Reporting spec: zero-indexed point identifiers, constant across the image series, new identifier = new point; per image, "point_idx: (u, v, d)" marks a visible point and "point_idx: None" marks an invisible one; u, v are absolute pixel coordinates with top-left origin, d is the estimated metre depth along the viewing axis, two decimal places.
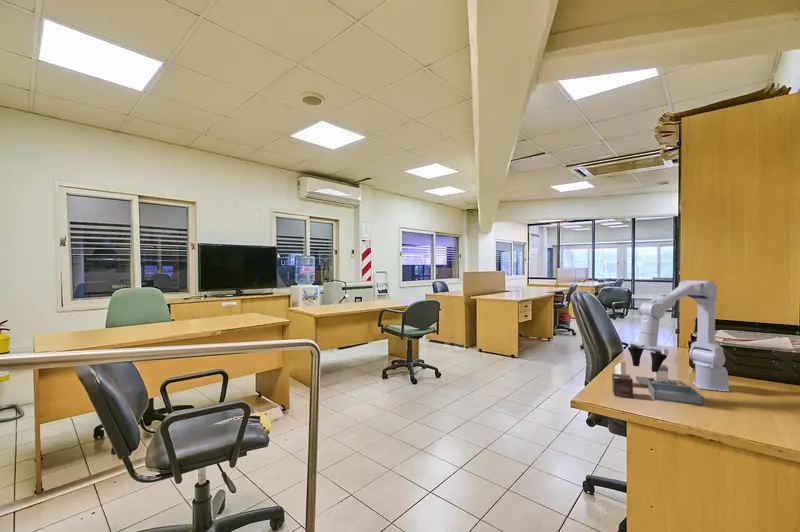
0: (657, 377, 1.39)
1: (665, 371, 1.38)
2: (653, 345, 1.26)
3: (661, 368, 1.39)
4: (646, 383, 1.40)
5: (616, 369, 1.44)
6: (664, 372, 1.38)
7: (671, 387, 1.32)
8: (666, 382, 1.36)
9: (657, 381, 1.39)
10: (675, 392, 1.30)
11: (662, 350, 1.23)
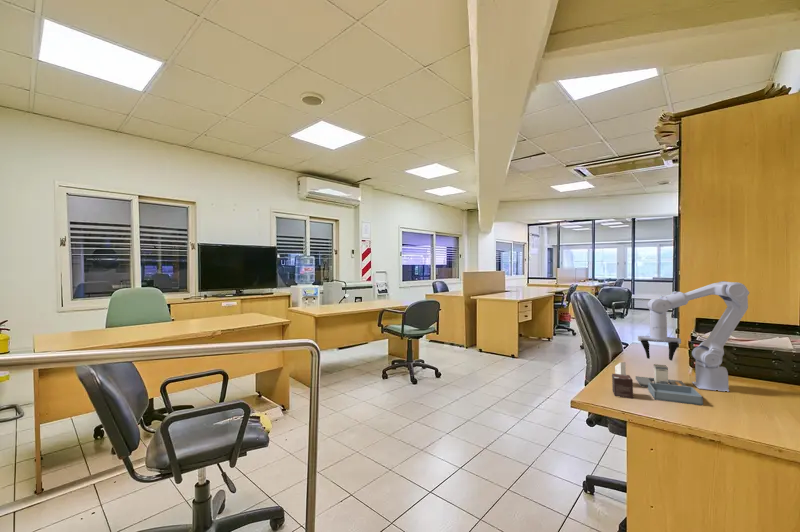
0: (657, 377, 1.39)
1: (665, 371, 1.38)
2: (650, 335, 1.44)
3: (661, 368, 1.39)
4: (646, 383, 1.40)
5: (616, 369, 1.44)
6: (664, 372, 1.38)
7: (671, 387, 1.32)
8: (666, 382, 1.36)
9: (657, 381, 1.39)
10: (675, 392, 1.30)
11: None
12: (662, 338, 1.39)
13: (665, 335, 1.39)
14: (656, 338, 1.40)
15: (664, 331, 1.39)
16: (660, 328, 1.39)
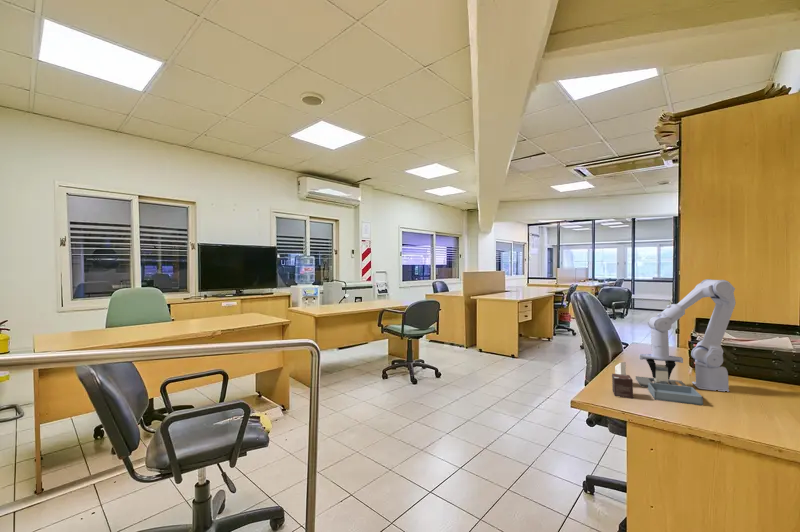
0: (657, 377, 1.39)
1: (665, 371, 1.38)
2: (651, 354, 1.42)
3: (661, 368, 1.39)
4: (646, 383, 1.40)
5: (616, 369, 1.44)
6: (664, 372, 1.38)
7: (671, 387, 1.32)
8: (666, 382, 1.36)
9: (657, 381, 1.39)
10: (675, 392, 1.30)
11: None
12: (664, 357, 1.37)
13: (667, 354, 1.38)
14: (658, 357, 1.38)
15: (666, 350, 1.38)
16: (662, 347, 1.38)
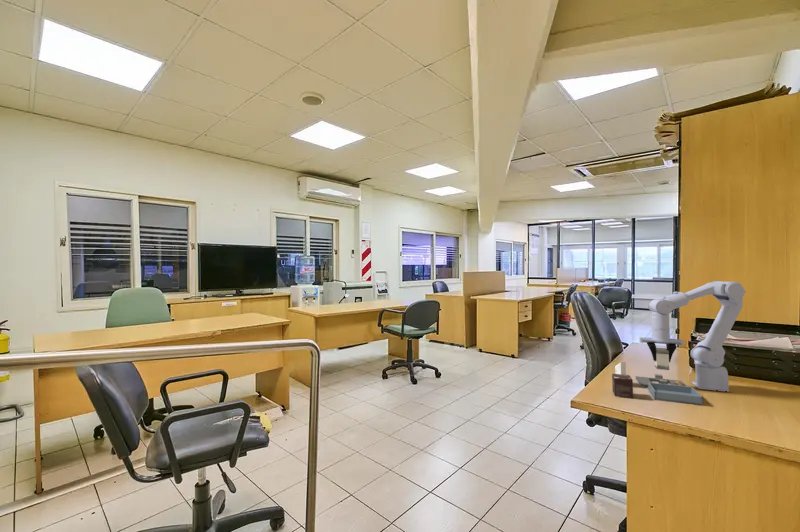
0: (658, 360, 1.38)
1: (666, 354, 1.36)
2: (652, 337, 1.41)
3: (662, 351, 1.37)
4: (646, 383, 1.40)
5: (616, 369, 1.44)
6: (665, 355, 1.37)
7: (671, 387, 1.32)
8: (666, 382, 1.36)
9: (658, 364, 1.38)
10: (675, 392, 1.30)
11: None
12: (665, 340, 1.36)
13: (668, 337, 1.36)
14: (658, 340, 1.37)
15: (667, 333, 1.36)
16: (663, 329, 1.36)
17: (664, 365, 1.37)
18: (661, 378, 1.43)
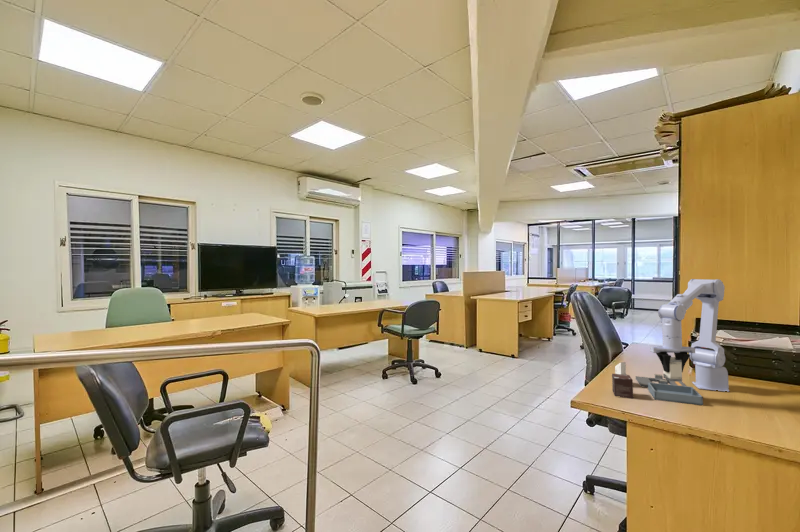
0: (671, 371, 1.26)
1: (679, 364, 1.26)
2: (663, 346, 1.28)
3: (675, 361, 1.26)
4: (646, 383, 1.40)
5: (616, 369, 1.44)
6: (678, 366, 1.26)
7: (671, 387, 1.32)
8: (666, 382, 1.36)
9: (671, 376, 1.26)
10: (675, 392, 1.30)
11: None
12: (679, 348, 1.24)
13: (681, 345, 1.25)
14: (673, 349, 1.25)
15: (681, 340, 1.25)
16: (677, 337, 1.25)
17: (677, 376, 1.26)
18: (661, 378, 1.43)
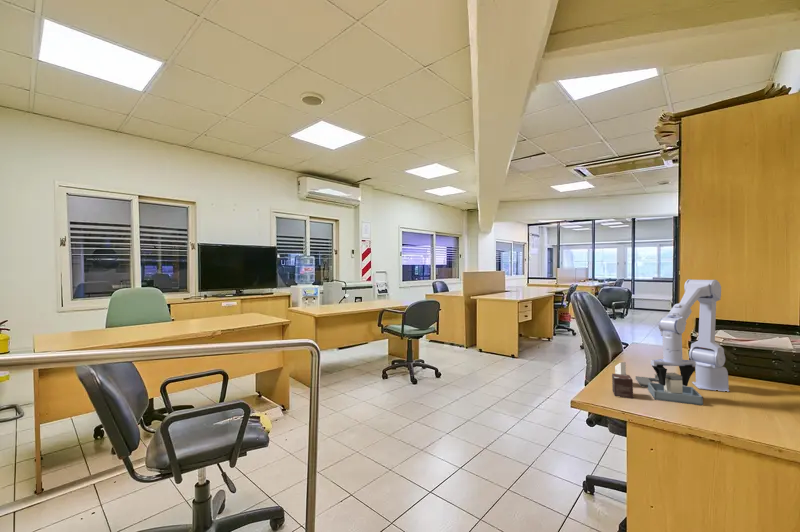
0: (672, 387, 1.26)
1: (680, 380, 1.25)
2: (663, 359, 1.28)
3: (675, 377, 1.26)
4: (646, 383, 1.40)
5: (616, 369, 1.44)
6: (678, 382, 1.26)
7: None
8: None
9: (672, 392, 1.26)
10: None
11: None
12: (680, 362, 1.24)
13: None
14: (674, 362, 1.25)
15: (681, 354, 1.25)
16: (678, 351, 1.25)
17: (678, 392, 1.26)
18: None
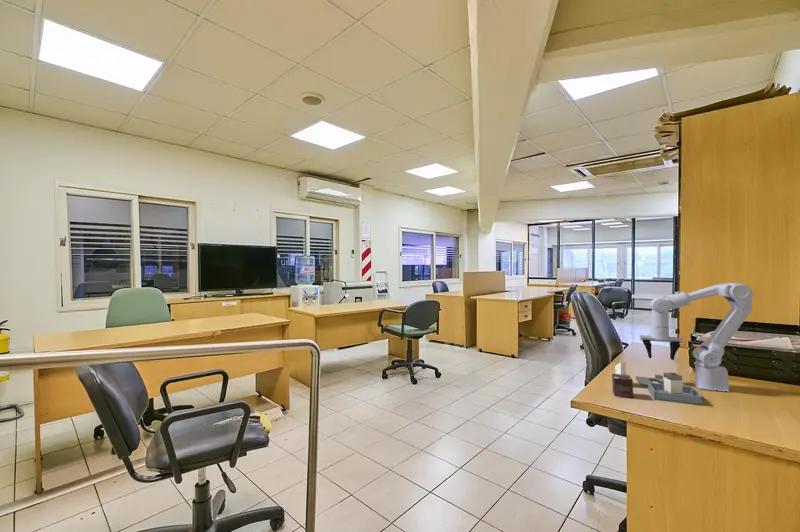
0: (672, 387, 1.26)
1: (680, 380, 1.25)
2: (652, 335, 1.44)
3: (675, 377, 1.26)
4: (646, 383, 1.40)
5: (616, 369, 1.44)
6: (678, 382, 1.26)
7: None
8: None
9: (672, 392, 1.26)
10: None
11: None
12: (664, 338, 1.40)
13: (667, 335, 1.40)
14: (658, 338, 1.41)
15: (666, 331, 1.40)
16: (662, 328, 1.40)
17: (678, 392, 1.26)
18: (661, 378, 1.43)
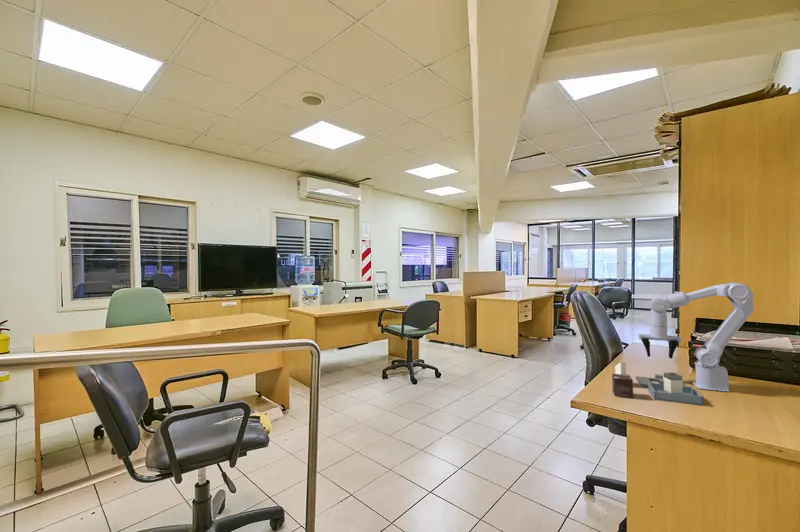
0: (672, 387, 1.26)
1: (680, 380, 1.25)
2: (650, 334, 1.47)
3: (675, 377, 1.26)
4: (646, 383, 1.40)
5: (616, 369, 1.44)
6: (678, 382, 1.26)
7: None
8: None
9: (672, 392, 1.26)
10: None
11: None
12: (662, 336, 1.42)
13: (665, 333, 1.42)
14: (657, 336, 1.43)
15: (664, 330, 1.42)
16: (661, 327, 1.42)
17: (678, 392, 1.26)
18: (661, 378, 1.43)
